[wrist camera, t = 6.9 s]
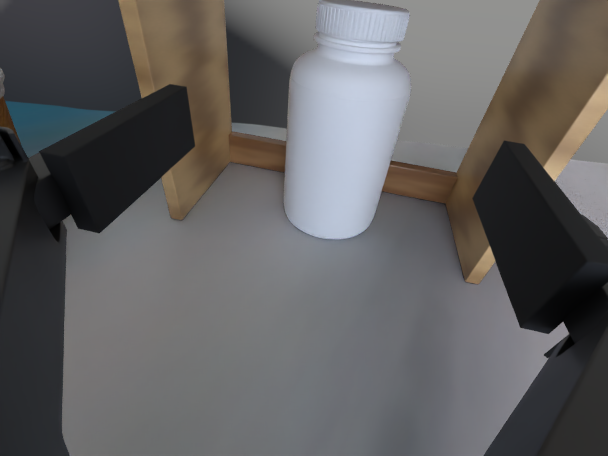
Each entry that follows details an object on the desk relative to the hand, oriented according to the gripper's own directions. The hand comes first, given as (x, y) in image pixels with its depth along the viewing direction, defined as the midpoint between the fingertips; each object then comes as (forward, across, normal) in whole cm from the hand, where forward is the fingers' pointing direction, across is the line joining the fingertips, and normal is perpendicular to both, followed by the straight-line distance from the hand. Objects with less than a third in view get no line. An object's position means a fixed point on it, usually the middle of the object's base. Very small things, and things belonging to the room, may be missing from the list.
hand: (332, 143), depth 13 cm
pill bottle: (+9, 0, -11) cm, 14 cm away
